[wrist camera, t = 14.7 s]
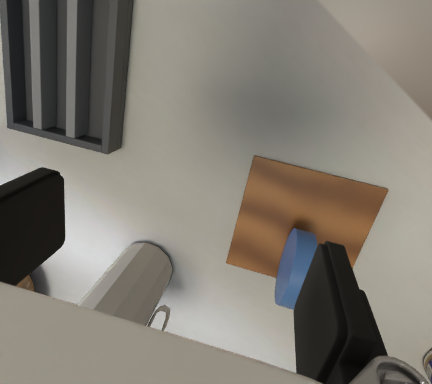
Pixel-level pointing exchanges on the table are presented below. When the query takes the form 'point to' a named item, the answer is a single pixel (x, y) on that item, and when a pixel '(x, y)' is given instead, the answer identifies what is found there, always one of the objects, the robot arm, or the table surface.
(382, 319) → the table surface
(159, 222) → the table surface
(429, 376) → the pill bottle
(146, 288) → the water bottle
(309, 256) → the blue lid
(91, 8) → the dish rack
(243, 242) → the brown square board
